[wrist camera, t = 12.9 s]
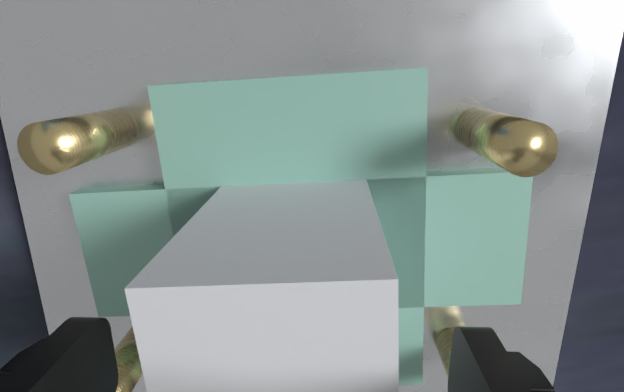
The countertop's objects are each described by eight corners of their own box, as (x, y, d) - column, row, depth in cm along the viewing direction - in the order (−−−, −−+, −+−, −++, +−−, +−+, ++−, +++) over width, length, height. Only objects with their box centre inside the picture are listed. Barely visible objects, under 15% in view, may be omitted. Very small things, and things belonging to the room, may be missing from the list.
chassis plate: (614, -6, 13) (760, -46, 9) (535, 413, 18) (603, 527, 14) (-7, 3, 14) (-165, -29, 10) (76, 399, 19) (-3, 502, 15)
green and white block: (531, 60, 13) (782, 48, 6) (505, 369, 17) (643, 606, 9) (59, 91, 14) (-233, 113, 7) (125, 376, 18) (-23, 596, 10)
